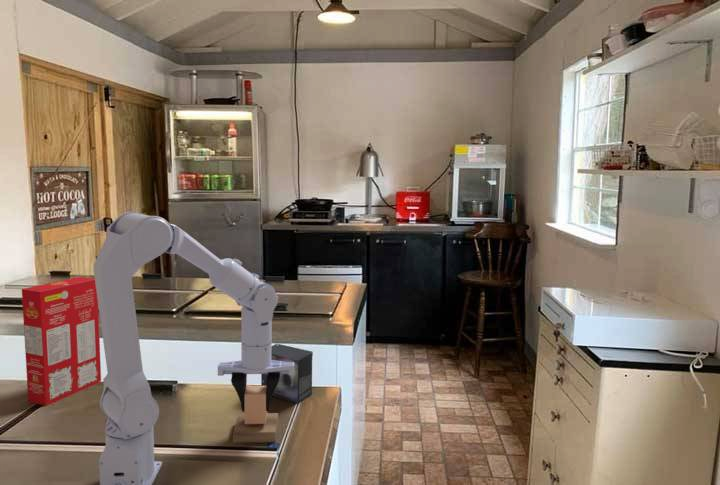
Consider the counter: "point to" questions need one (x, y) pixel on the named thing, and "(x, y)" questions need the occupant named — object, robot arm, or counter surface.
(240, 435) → the plinth
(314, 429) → the counter surface
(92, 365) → the food packaging
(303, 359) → the small box
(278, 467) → the counter surface
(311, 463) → the counter surface
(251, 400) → the block
